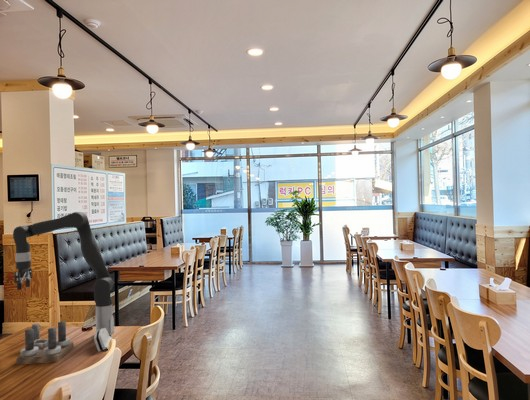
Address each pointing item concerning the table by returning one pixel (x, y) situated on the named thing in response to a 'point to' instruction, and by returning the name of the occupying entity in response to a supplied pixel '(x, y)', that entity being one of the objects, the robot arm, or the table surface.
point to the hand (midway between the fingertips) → (23, 288)
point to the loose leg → (36, 331)
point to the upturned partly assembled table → (45, 346)
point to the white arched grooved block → (102, 339)
